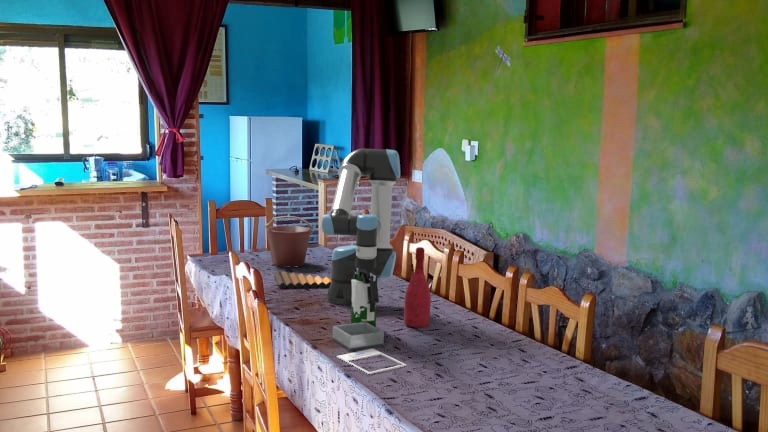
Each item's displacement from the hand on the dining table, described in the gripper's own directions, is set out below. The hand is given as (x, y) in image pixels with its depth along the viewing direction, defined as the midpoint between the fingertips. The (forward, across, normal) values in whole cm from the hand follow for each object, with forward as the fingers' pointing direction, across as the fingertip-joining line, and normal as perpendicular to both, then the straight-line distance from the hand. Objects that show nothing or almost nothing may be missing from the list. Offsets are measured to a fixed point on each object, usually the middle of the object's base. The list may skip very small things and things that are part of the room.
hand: (363, 316), depth 260 cm
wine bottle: (+5, +4, +21) cm, 22 cm away
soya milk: (+5, 0, 0) cm, 5 cm away
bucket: (+5, -114, +19) cm, 116 cm away
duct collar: (+5, +14, -10) cm, 18 cm away
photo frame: (+5, +32, -15) cm, 36 cm away
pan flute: (+5, -75, +10) cm, 76 cm away
